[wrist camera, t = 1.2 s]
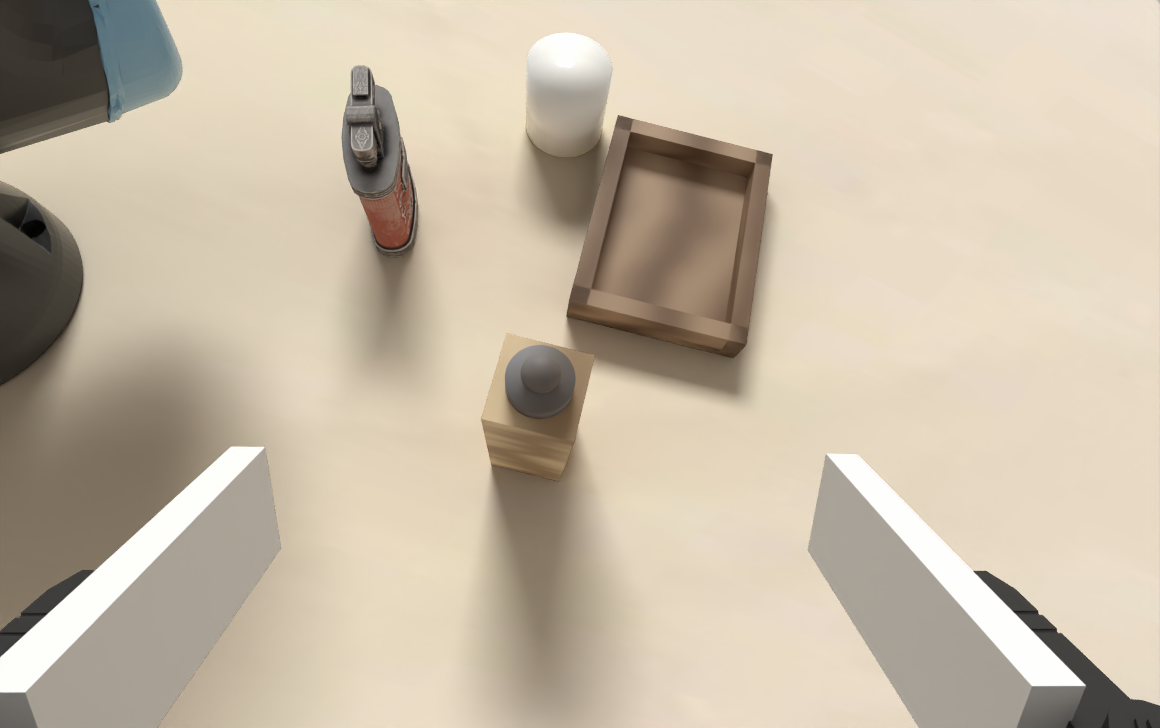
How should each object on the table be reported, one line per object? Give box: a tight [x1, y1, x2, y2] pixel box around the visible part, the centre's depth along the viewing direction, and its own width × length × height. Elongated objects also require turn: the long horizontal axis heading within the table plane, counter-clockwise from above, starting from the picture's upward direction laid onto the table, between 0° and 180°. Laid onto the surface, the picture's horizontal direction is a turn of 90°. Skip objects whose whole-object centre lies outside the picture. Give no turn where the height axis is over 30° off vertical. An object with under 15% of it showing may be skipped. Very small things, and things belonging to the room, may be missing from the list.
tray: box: [567, 115, 773, 358], centre depth 44 cm, size 12×16×2 cm
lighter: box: [342, 65, 418, 257], centre depth 39 cm, size 8×3×10 cm, turn 8°
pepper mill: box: [481, 333, 595, 481], centre depth 32 cm, size 4×4×14 cm
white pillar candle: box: [526, 33, 612, 158], centre depth 45 cm, size 6×6×6 cm
